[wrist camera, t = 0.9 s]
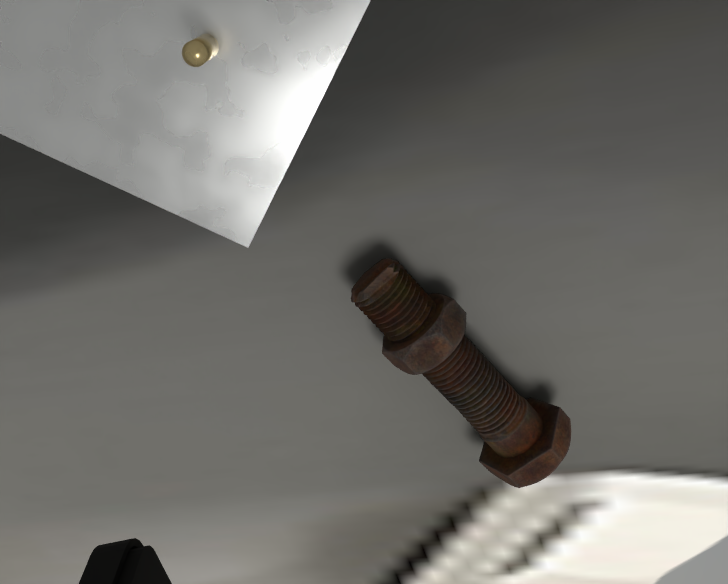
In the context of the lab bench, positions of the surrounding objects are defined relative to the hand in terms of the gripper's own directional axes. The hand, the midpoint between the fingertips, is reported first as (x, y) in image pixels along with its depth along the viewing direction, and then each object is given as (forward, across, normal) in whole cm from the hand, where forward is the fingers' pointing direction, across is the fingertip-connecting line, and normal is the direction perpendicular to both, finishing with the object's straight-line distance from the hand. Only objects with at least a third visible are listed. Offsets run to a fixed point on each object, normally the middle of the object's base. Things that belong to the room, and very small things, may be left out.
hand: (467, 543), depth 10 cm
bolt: (+26, -2, +13) cm, 29 cm away
